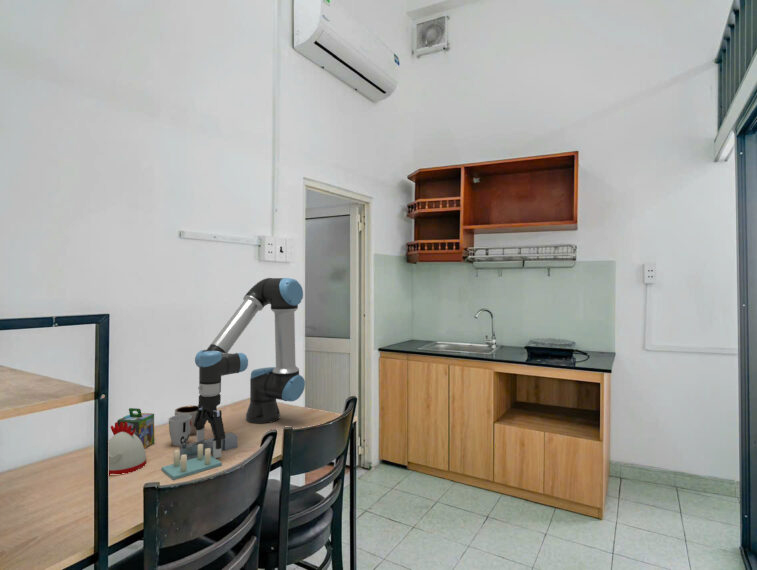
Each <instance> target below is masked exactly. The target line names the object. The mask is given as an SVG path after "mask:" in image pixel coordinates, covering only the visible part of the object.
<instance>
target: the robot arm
mask: <svg viewBox="0 0 757 570" xmlns="http://www.w3.org/2000/svg"><path fill="white" fill-rule="evenodd" d="M303 298H304V290H303V287H302V285H301V283H299V281H298V280H297V279H295V278H289V277H279V278H278V277H267V278H264V279H261V280H259V281H258V282H257V283H255V285H253V286H252V287H251V288H250V289H249V290H248V291H247V292H246V294H245V295H244V296H243V298H242V300H243V301H242V302H241V303H240V305H239V307H238V308H237V309H236V310H235V312H234V313H233V315H232V316H231V317H230V319H229V320H228V321H227V323H226V324H225V325H224V326H223V327H222V329H221V330H220V332H219V333H218V334H217V336H216V337H215V338H214V339H213V340H212V342H211V343H210V345H209V346H208V347H207V348H206V349H202V350H199V351H198V352H197V353H196V355H195V357H194V363H195V366H197V367H198V370H199V371H198V372H199V373H198V374H199V376H198V379H199V380H198V381H199V383H198V387H197V388H198V394H199V395H198V404H197V406H198V411H197V414H196V418H195V422H194V427H196V430H197V434H196V441H195V442H199V441H203V440H205V432H206V431H205V429H206V427H205V426H206V424H207V422H208V423H209V424H210V428H211V432H212V434H213V438H214V439H213V453H212V457H214V458H215V459H218V458H219V459H220V458H221V457H222V451H221V446H222V439H224V438H225V434H226V432H225V427H224V422H223V417H222V410H218V408H217V407H218V406H219V405H220V404H221V397H222V396H221V392H222V391H221V390H222V377H224V376H226V375H227V376H228V375H232V374H239V373H242V372H245V371H246V370H247V369H248V366H249V358H248V356H247V355H246V354H245V353H243V352H235V353H229V351H230V350H231V349H232V348H233V346H234V345H235V343H236V342H237V341H238V339H239V338H240V336H241V335H242V334H243V333H244V331H245V330H246V328H248V325H249V324H250V323H251V321H252V320H253V319H254V317H255V316H256V314H257V313H258V312H260V311H262V310H263V309H264V307H266V306H268V305H270V310H271V311H272V312H273V313H274V338H275V339H274V342H275V344H274V345H275V346H274V347H275V349H274V350H275V366H272V367H271V366H270V367H262V368H261V367H260V368H256V369H253V370H252V371H251V373H250V379H249V381H250V383H249V384H250V386H249V387H250V392H249V393H250V394H249V395H250V399H249V405H248V408H247V410H246V413H245V421H247V422H248V423H252V424H267V423H266V422H269V423H271V422H270V421H274V420H276V419H278V418H279V417H281V413H280V409H279V405H278V403H277V400H280V401H284V402H296V401H298V399H300V397H301V396H302V395H303V393H304V392H305V391H304V390H305V387H306V381H305V378H304V377H303V376H302V375H301V374H300V368H299V367H297V365H296V337H295V336H296V328H295V327H296V326H295V324H296V323H295V313H296V311H297V310H298V308H299V305H300V303H302V300H303ZM279 419H280V418H279ZM279 419H278V420H279ZM276 421H277V420H276ZM197 422H198V423H197ZM274 422H275V421H274Z"/></svg>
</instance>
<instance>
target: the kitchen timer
mask: <svg viewBox="0 0 757 570" xmlns="http://www.w3.org/2000/svg"><path fill="white" fill-rule="evenodd" d="M131 427H132V425H131V426H129V427H128V425H127V422H125V424H124V427H123V422H121V423H120V426H118V423H117V421H116V422H114V426H113V425H110V430H111V431H112V432H111V433H112V434H113V436H111V438H110V439H108V441H109V475H108V476H111V475H110V474H122V473H127V474H129V473H128V472H131V473H134V472H137V471H139V470H141V469H142V468H144V467H145V466H146V465H145V464H147V454H146V450H145V448H144V447H143V444H142V442H141V440H140V439H139V438H138V437H137V436H136V435H135V434H134V432H135V430H136V429H134V430H133V431H132V432H131ZM143 466H144V467H143ZM138 469H139V470H138ZM136 470H137V471H136ZM133 471H134V472H133ZM122 475H123V474H122Z"/></svg>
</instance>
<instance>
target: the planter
mask: <svg viewBox="0 0 757 570" xmlns="http://www.w3.org/2000/svg"><path fill="white" fill-rule="evenodd" d="M197 411H198V405H185V406H180V407H178V408H175V409H174V416H177V415H190V416H192V420H191V430H190V435H189V437H190V436H194V435H195V436H196V435H197V430H196V427H194V422H195V418H196V414H197ZM197 423H198V422H197Z"/></svg>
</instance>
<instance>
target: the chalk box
mask: <svg viewBox="0 0 757 570" xmlns="http://www.w3.org/2000/svg"><path fill="white" fill-rule="evenodd" d="M128 411H129V414H127V415H125V416H122V417H121V418H118V419H117V421H116V422H117V423H118V426H120V423H121V422H123V427H124V424H125V422H127V425H128V427H129V426H131V425H132V427H131V432H132V431H133V430H134V429H136V430H135V432H134V434H135V435H136V436H137V437H138V438H139V439H140V440H141V442H142V444H143V447H144V449H146V448H148V447H149V446H151V445H153V444H155V413H149V412H148V413H146V412H144V413H142V410H141V408H135V407H133V408H132V407H129V408H128Z"/></svg>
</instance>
